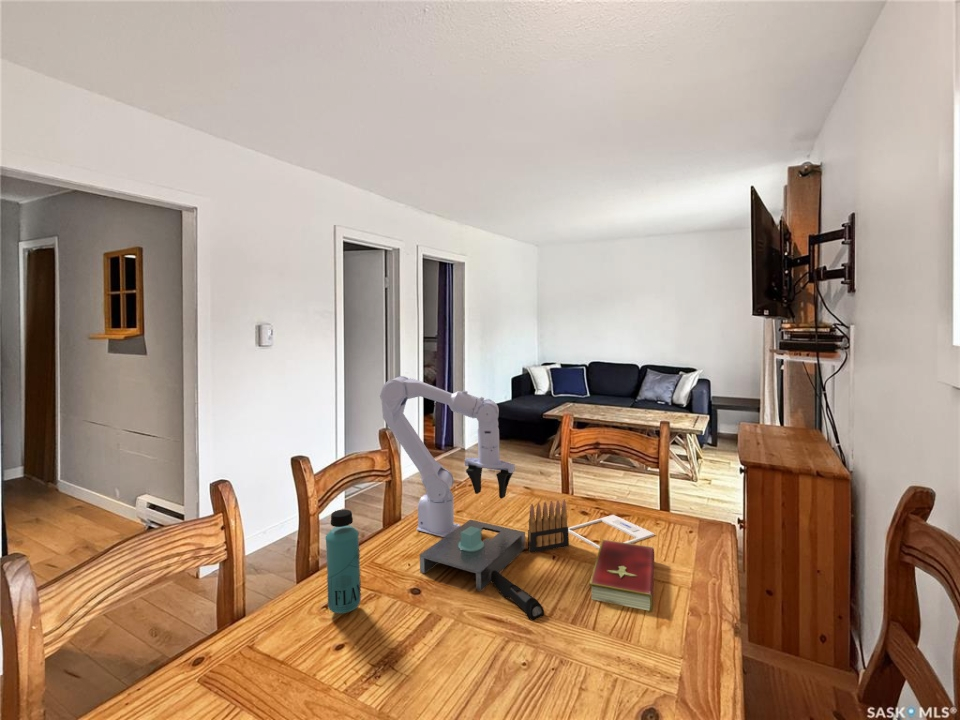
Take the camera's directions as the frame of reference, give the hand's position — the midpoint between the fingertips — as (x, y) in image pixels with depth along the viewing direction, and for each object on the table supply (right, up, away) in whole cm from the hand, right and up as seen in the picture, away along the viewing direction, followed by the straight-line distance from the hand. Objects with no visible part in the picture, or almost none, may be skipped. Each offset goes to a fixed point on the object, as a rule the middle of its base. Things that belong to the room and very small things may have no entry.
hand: (490, 494), depth 128 cm
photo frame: (+32, -10, -2) cm, 34 cm away
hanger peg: (-5, -10, -17) cm, 20 cm away
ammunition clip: (+14, -11, -10) cm, 20 cm away
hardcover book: (+29, -12, -25) cm, 40 cm away
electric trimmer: (+4, -13, -32) cm, 35 cm away
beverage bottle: (-29, -13, -35) cm, 48 cm away
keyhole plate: (-4, -11, -15) cm, 19 cm away
